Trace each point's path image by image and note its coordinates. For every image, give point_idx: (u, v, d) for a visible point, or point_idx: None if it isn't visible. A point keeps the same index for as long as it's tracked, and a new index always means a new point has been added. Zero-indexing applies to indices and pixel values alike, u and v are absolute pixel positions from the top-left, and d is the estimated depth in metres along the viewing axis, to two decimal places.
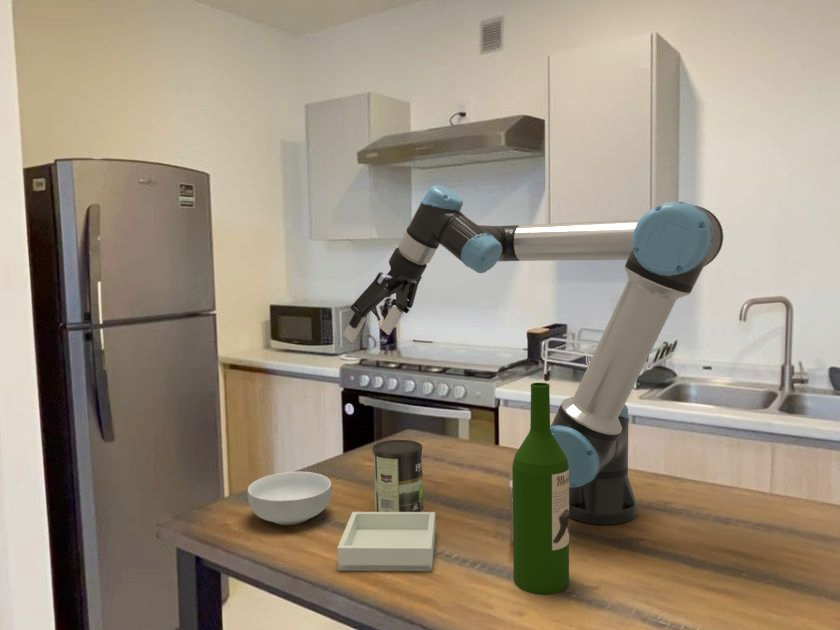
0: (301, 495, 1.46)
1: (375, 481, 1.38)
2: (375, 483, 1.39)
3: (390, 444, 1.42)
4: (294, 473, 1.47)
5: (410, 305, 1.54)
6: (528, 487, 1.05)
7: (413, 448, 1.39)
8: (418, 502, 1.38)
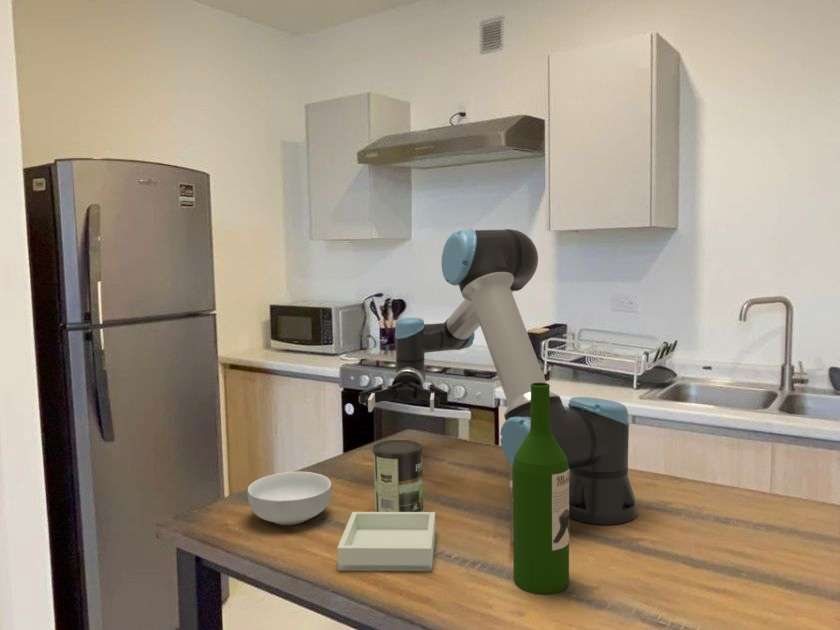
0: (301, 495, 1.46)
1: (375, 481, 1.38)
2: (375, 483, 1.39)
3: (390, 444, 1.42)
4: (294, 473, 1.47)
5: (443, 392, 1.56)
6: (528, 487, 1.05)
7: (413, 448, 1.39)
8: (418, 502, 1.38)
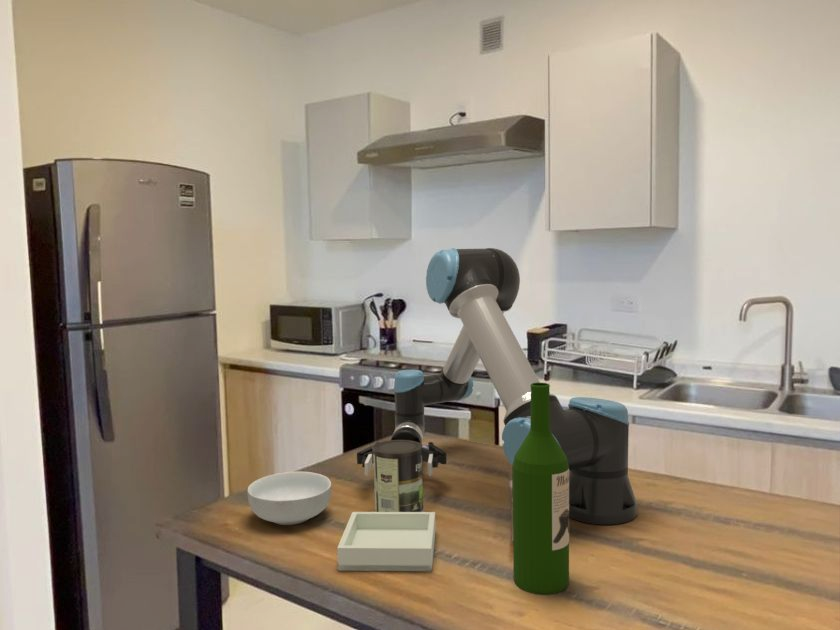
0: (301, 495, 1.46)
1: (375, 481, 1.38)
2: (375, 483, 1.39)
3: (390, 444, 1.42)
4: (294, 473, 1.47)
5: (441, 452, 1.52)
6: (528, 487, 1.05)
7: (413, 448, 1.38)
8: (418, 502, 1.38)
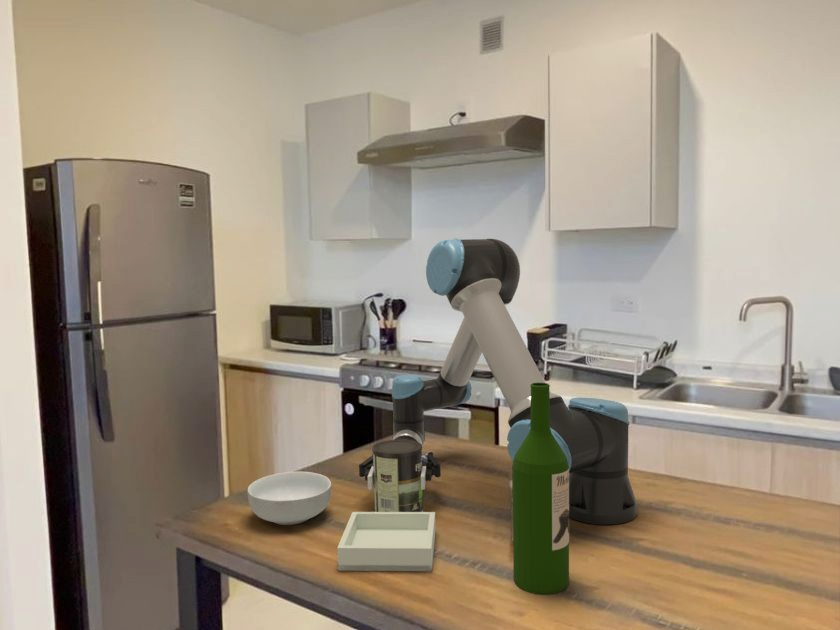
0: (301, 495, 1.46)
1: (375, 481, 1.38)
2: (375, 483, 1.39)
3: (390, 444, 1.42)
4: (294, 473, 1.47)
5: (435, 464, 1.44)
6: (528, 487, 1.05)
7: (413, 448, 1.38)
8: (418, 502, 1.38)
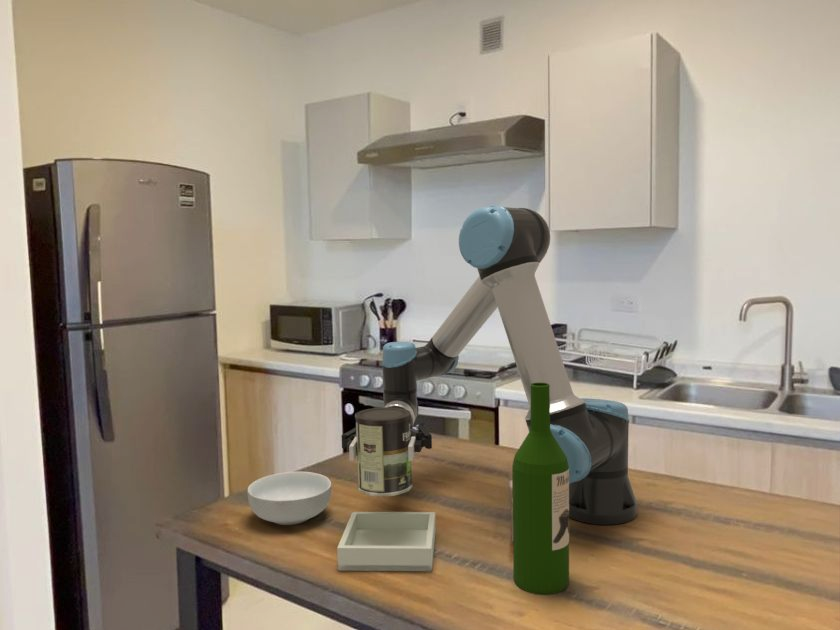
0: (301, 495, 1.46)
1: (358, 452, 1.24)
2: (358, 454, 1.24)
3: (375, 411, 1.28)
4: (294, 473, 1.47)
5: (426, 434, 1.29)
6: (528, 487, 1.05)
7: (400, 415, 1.24)
8: (405, 475, 1.24)
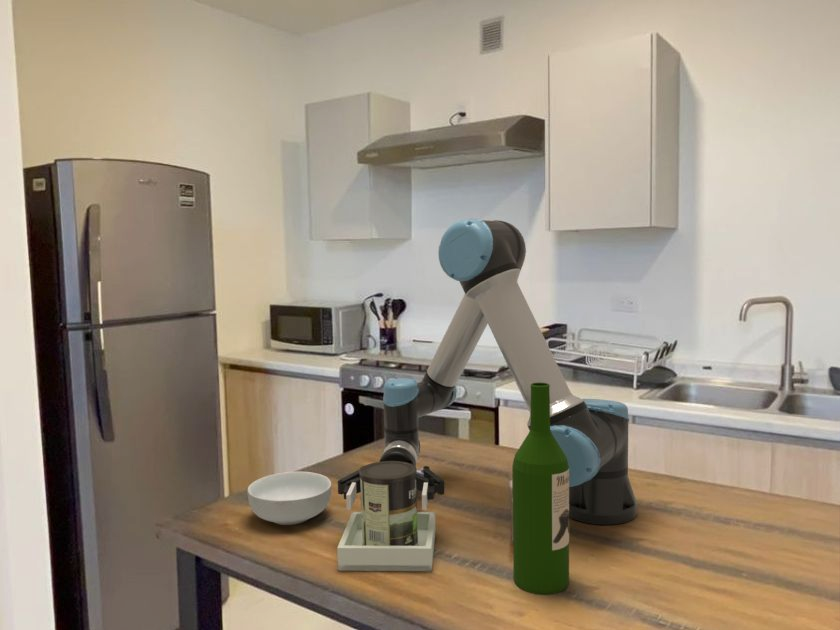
0: (301, 495, 1.46)
1: (362, 510, 1.21)
2: (362, 512, 1.21)
3: (380, 466, 1.24)
4: (294, 473, 1.47)
5: (438, 480, 1.26)
6: (528, 487, 1.05)
7: (406, 472, 1.21)
8: (411, 534, 1.20)
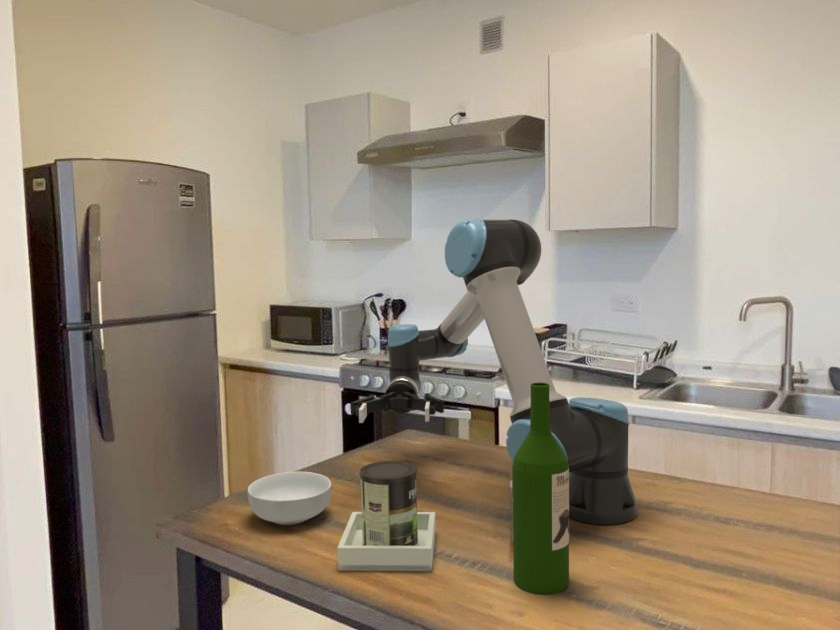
0: (301, 495, 1.46)
1: (362, 510, 1.21)
2: (362, 512, 1.21)
3: (380, 466, 1.24)
4: (294, 473, 1.47)
5: (438, 400, 1.47)
6: (528, 487, 1.05)
7: (406, 472, 1.21)
8: (412, 534, 1.20)
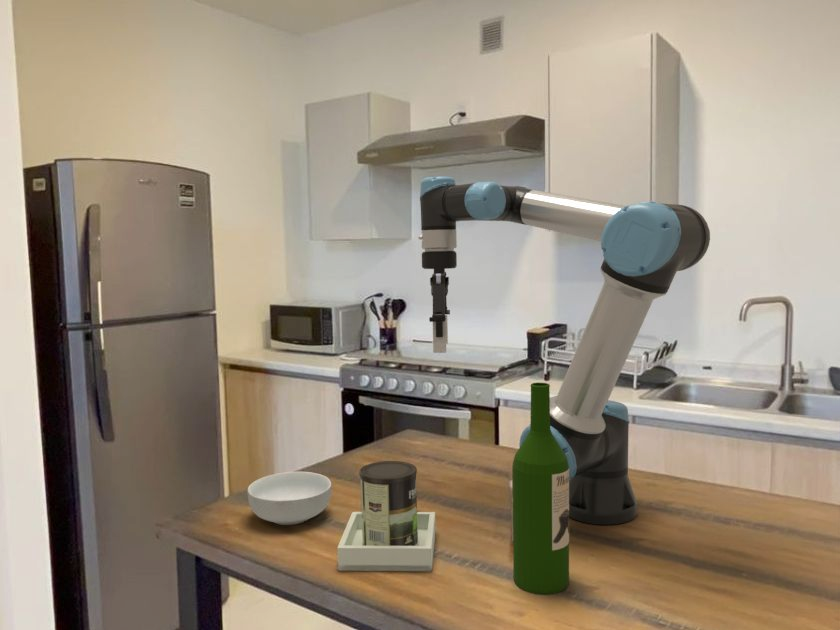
0: (301, 495, 1.46)
1: (362, 510, 1.21)
2: (362, 512, 1.21)
3: (380, 466, 1.24)
4: (294, 473, 1.47)
5: (446, 307, 1.57)
6: (528, 487, 1.05)
7: (406, 472, 1.21)
8: (411, 534, 1.20)
